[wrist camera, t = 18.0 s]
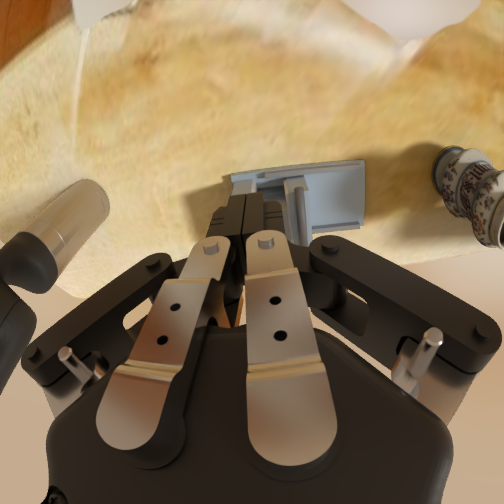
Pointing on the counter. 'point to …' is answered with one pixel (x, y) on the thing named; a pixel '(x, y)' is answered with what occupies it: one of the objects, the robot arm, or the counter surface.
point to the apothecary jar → (472, 191)
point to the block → (279, 196)
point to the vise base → (318, 190)
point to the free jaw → (298, 210)
